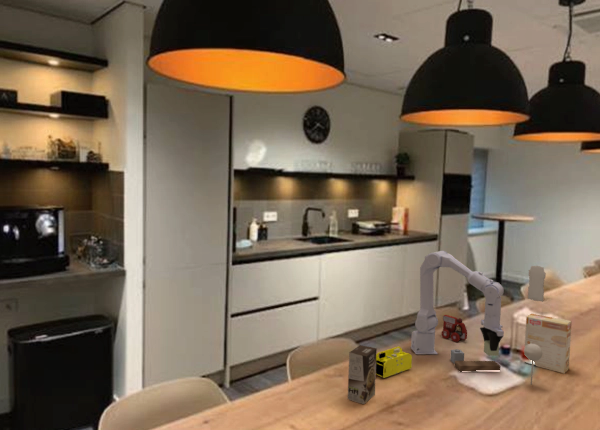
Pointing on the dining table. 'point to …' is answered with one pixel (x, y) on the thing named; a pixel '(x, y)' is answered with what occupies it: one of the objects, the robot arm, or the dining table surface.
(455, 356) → the slate block
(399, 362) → the yellow toy machine
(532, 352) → the lollipop
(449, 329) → the toy fire truck
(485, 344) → the sage block
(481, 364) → the walnut base brick
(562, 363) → the coffeecake box
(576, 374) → the dining table surface
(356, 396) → the coffee box
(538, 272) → the dispenser
